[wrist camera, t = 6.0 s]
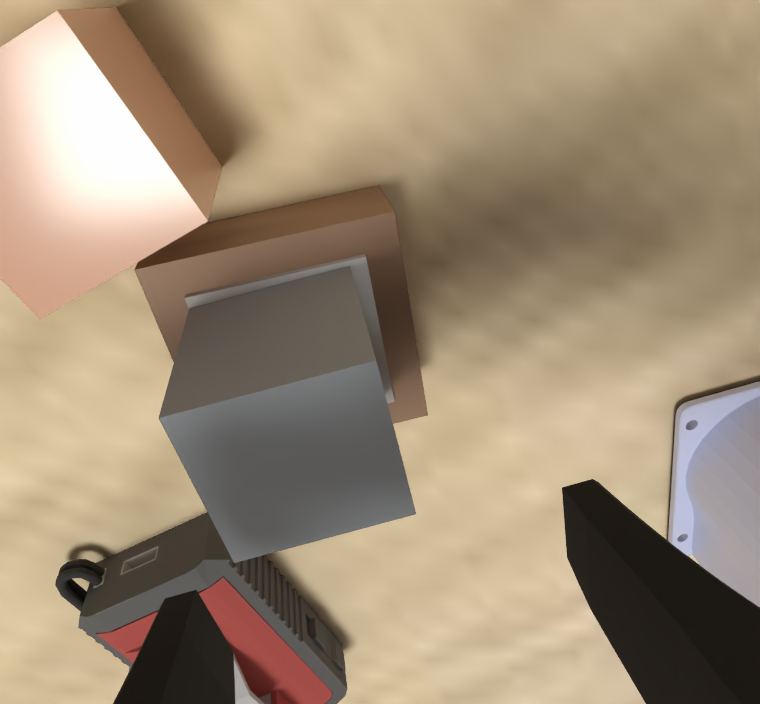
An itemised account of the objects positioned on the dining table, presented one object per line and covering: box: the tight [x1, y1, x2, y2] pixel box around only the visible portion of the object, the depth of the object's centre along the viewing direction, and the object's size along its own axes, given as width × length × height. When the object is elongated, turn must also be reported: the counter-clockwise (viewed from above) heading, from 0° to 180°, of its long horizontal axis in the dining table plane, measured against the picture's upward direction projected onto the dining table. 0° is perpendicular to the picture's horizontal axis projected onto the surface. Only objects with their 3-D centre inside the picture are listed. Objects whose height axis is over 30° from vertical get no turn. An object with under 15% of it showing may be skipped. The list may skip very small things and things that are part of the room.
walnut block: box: [135, 185, 428, 424], centre depth 19 cm, size 7×7×3 cm
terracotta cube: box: [0, 7, 222, 319], centre depth 14 cm, size 4×4×5 cm
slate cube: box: [159, 266, 416, 563], centre depth 15 cm, size 4×4×5 cm
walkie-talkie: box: [56, 512, 347, 704], centre depth 27 cm, size 9×4×20 cm
